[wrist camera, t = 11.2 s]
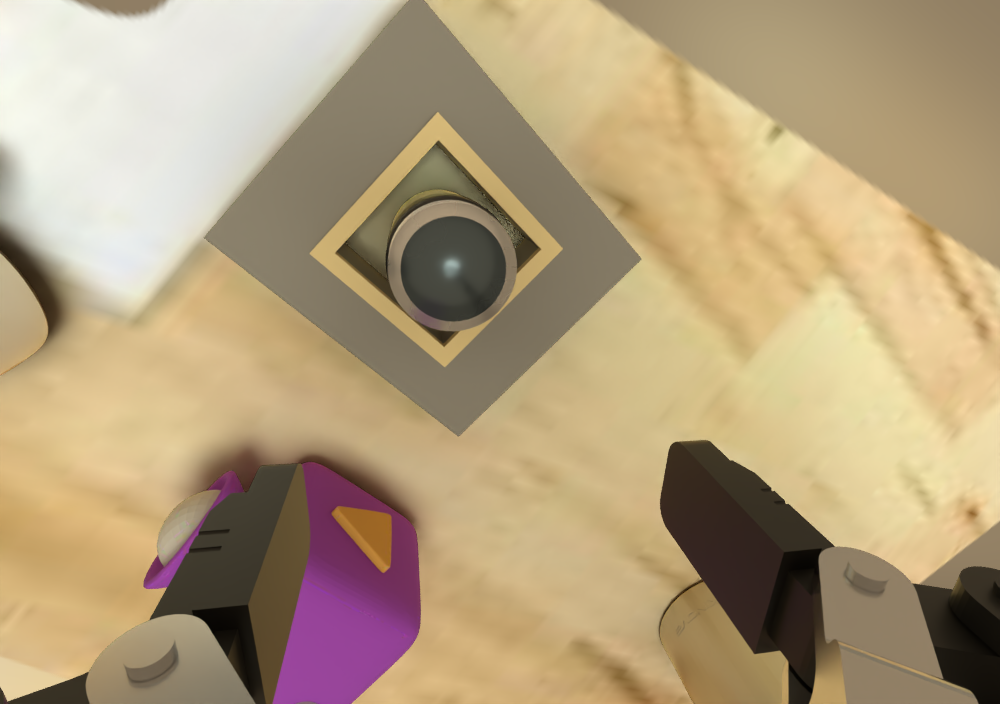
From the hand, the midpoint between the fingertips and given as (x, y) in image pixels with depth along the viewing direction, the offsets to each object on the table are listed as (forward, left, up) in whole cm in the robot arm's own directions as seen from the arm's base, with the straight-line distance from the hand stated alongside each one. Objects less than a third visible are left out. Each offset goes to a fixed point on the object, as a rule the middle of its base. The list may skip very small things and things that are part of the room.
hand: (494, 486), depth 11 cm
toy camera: (-4, +17, -20) cm, 26 cm away
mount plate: (+2, -2, -19) cm, 19 cm away
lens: (+1, -2, -19) cm, 19 cm away
